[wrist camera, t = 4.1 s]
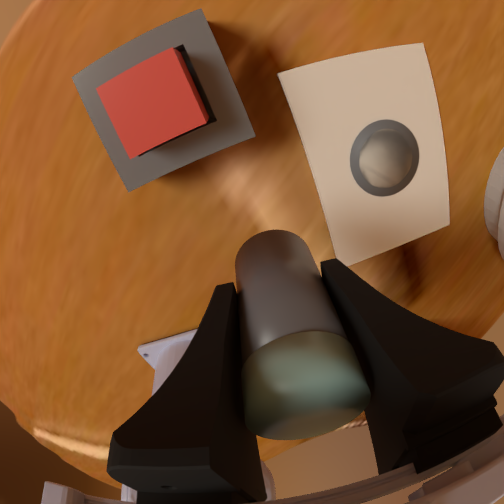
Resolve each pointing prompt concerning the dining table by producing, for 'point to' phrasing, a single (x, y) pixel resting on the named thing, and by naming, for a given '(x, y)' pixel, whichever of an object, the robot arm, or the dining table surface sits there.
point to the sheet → (372, 147)
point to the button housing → (206, 81)
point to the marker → (292, 343)
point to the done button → (153, 102)
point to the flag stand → (496, 202)
